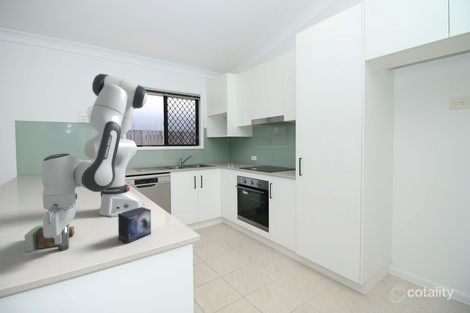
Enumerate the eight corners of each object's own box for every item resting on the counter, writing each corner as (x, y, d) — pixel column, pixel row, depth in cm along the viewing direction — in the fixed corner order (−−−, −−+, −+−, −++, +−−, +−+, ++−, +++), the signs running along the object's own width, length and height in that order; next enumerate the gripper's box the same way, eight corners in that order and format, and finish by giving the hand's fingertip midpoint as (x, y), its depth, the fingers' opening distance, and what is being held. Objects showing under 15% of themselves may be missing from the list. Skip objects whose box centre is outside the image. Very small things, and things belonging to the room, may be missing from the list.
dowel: (69, 246, 79) (68, 224, 79) (67, 250, 76) (66, 227, 76) (59, 247, 78) (58, 225, 77) (56, 251, 75) (55, 229, 75)
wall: (47, 236, 86) (46, 222, 86) (33, 251, 75) (32, 234, 75) (40, 237, 86) (39, 222, 85) (25, 252, 75) (24, 235, 74)
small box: (127, 244, 81) (126, 216, 80) (117, 240, 84) (116, 213, 84) (152, 234, 90) (151, 209, 89) (142, 230, 93) (141, 206, 93)
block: (74, 233, 89) (73, 220, 89) (66, 244, 80) (65, 229, 80) (49, 236, 86) (48, 223, 86) (38, 248, 77) (37, 233, 76)
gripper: (60, 208, 68) (63, 251, 69) (78, 192, 87) (80, 226, 88) (34, 211, 66) (37, 255, 67) (59, 194, 84) (61, 229, 86)
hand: (62, 238), depth 78 cm, fingers open, 5 cm apart
